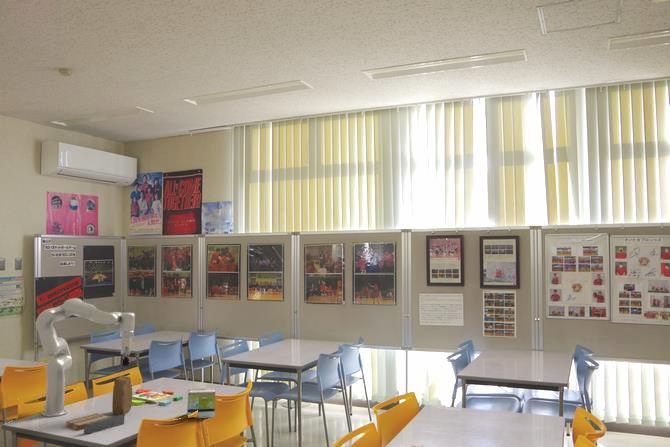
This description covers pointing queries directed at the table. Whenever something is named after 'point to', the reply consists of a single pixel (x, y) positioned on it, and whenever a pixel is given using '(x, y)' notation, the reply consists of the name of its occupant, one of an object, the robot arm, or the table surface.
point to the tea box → (201, 402)
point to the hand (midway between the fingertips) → (125, 364)
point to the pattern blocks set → (153, 397)
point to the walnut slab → (83, 421)
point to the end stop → (103, 423)
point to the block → (122, 395)
